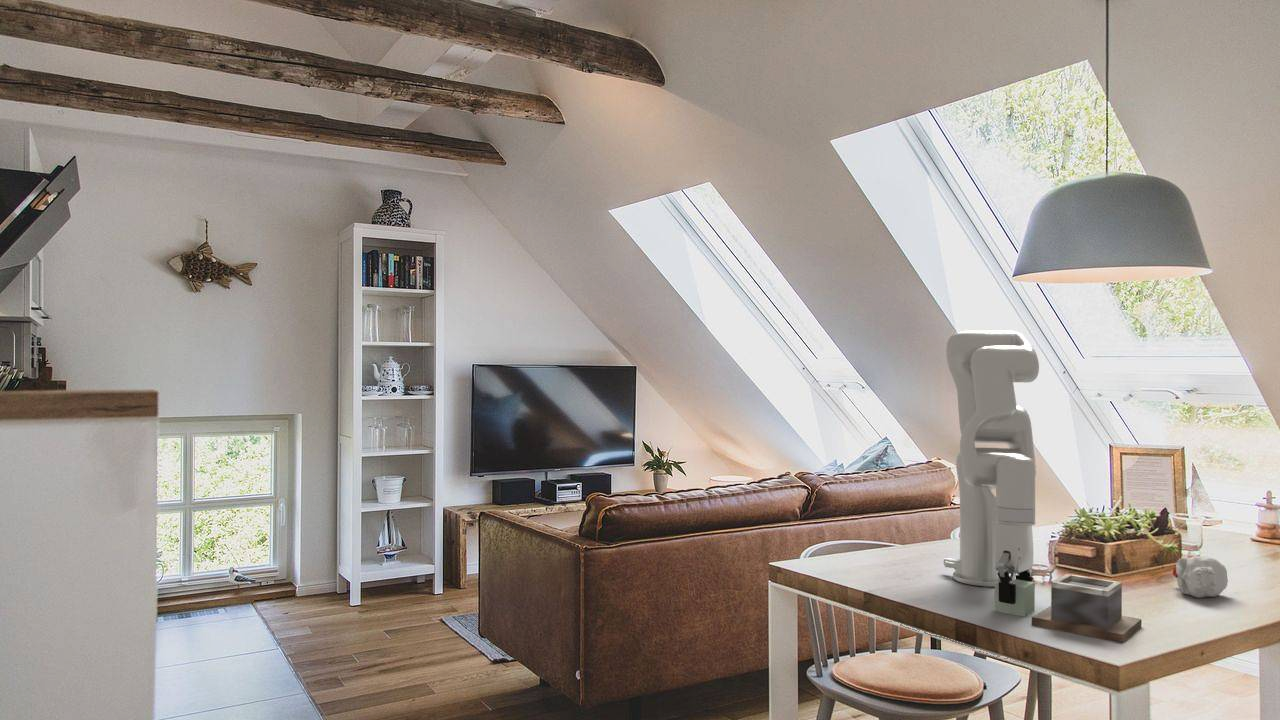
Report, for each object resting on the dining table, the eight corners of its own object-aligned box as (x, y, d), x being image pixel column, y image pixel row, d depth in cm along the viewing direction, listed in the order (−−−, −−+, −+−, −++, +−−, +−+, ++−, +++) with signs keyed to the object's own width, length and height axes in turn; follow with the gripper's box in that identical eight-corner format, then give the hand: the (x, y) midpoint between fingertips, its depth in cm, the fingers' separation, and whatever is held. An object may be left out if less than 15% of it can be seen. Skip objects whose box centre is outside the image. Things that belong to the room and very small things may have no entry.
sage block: (994, 611, 178) (994, 582, 178) (1005, 605, 182) (1005, 577, 183) (1024, 617, 174) (1024, 587, 174) (1034, 611, 178) (1034, 582, 178)
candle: (1200, 600, 186) (1154, 591, 201) (1249, 600, 187) (1200, 591, 202) (1196, 558, 187) (1151, 552, 202) (1245, 557, 188) (1196, 552, 203)
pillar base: (1031, 624, 168) (1031, 581, 168) (1054, 610, 179) (1054, 569, 179) (1122, 642, 157) (1122, 596, 158) (1141, 626, 168) (1141, 583, 168)
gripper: (1011, 510, 187) (1011, 589, 187) (981, 517, 175) (981, 602, 174) (1048, 514, 182) (1048, 595, 181) (1019, 522, 169) (1019, 609, 169)
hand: (1015, 598), depth 178 cm, fingers open, 9 cm apart
